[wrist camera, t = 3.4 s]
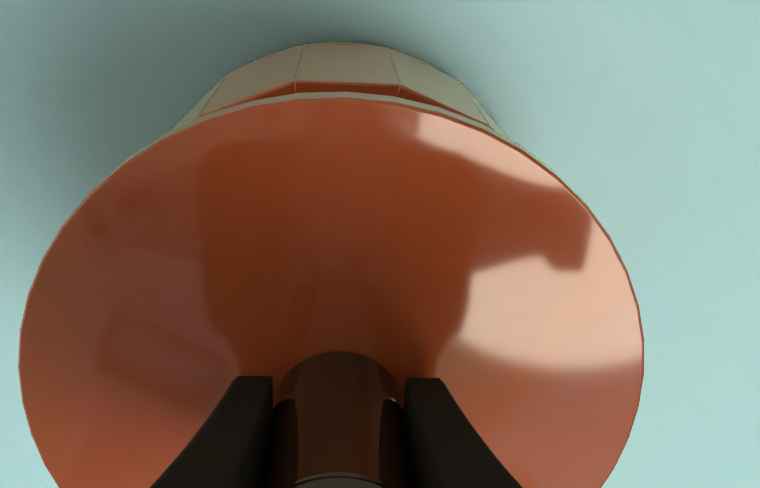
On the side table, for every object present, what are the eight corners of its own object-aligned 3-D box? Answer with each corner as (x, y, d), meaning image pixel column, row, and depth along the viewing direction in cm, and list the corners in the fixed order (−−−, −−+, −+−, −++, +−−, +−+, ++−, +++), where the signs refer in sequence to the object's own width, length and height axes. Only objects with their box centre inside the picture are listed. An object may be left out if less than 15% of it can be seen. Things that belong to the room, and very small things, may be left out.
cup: (335, 433, 24) (333, 553, 20) (77, 221, 21) (3, 308, 16) (593, 233, 22) (659, 319, 17) (348, -50, 18) (349, -36, 14)
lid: (331, 647, 18) (328, 851, 14) (-84, 366, 14) (-248, 539, 10) (732, 375, 15) (868, 537, 11) (350, -73, 11) (354, -67, 7)
